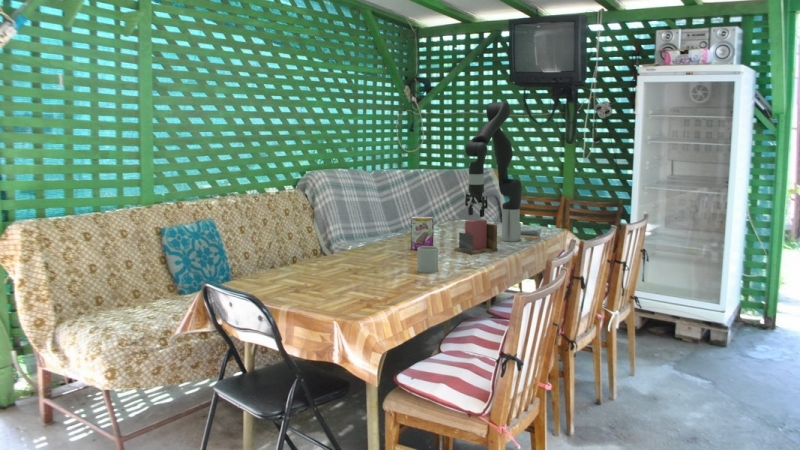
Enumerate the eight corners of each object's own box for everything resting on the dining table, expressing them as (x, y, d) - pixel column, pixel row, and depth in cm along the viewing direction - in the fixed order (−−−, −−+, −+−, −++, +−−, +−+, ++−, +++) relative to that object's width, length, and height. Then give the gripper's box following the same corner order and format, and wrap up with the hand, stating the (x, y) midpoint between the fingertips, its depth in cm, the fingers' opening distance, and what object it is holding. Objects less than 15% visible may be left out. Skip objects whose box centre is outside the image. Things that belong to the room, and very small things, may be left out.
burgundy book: (480, 246, 338) (480, 219, 336) (486, 248, 334) (486, 220, 332) (465, 248, 332) (465, 220, 330) (470, 250, 328) (471, 222, 326)
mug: (423, 273, 282) (423, 250, 281) (413, 269, 291) (413, 247, 289) (446, 271, 287) (446, 248, 286) (434, 267, 296) (434, 244, 294)
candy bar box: (411, 250, 337) (410, 217, 334) (411, 248, 342) (411, 216, 339) (433, 250, 336) (433, 217, 333) (433, 248, 341) (433, 216, 338)
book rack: (480, 247, 343) (480, 222, 341) (497, 251, 332) (497, 225, 331) (454, 250, 334) (454, 224, 332) (470, 254, 323) (470, 228, 321)
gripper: (491, 183, 324) (491, 216, 327) (472, 181, 336) (472, 213, 339) (479, 184, 320) (479, 218, 323) (461, 182, 332) (461, 215, 335)
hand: (476, 216), depth 331 cm, fingers open, 8 cm apart
